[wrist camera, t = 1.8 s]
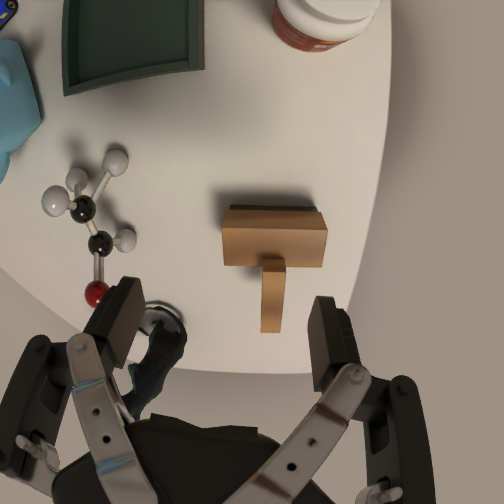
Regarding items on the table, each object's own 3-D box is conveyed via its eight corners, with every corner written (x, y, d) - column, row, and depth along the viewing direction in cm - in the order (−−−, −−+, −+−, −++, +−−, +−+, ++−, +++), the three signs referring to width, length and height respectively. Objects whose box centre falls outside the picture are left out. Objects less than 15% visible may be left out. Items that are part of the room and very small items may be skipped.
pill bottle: (310, 66, 20) (343, 55, 11) (257, 21, 18) (251, -21, 8) (357, 28, 17) (415, 2, 8) (306, -17, 15) (332, -71, 6)
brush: (228, 203, 28) (217, 240, 22) (318, 205, 27) (332, 242, 22) (232, 287, 34) (226, 331, 28) (307, 288, 34) (313, 333, 28)
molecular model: (127, 143, 24) (63, 182, 15) (167, 243, 31) (134, 311, 22) (70, 169, 26) (9, 214, 17) (112, 255, 32) (72, 316, 23)
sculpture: (115, 311, 38) (78, 395, 26) (172, 296, 35) (139, 398, 23) (146, 345, 42) (121, 425, 30) (202, 336, 40) (184, 429, 27)
